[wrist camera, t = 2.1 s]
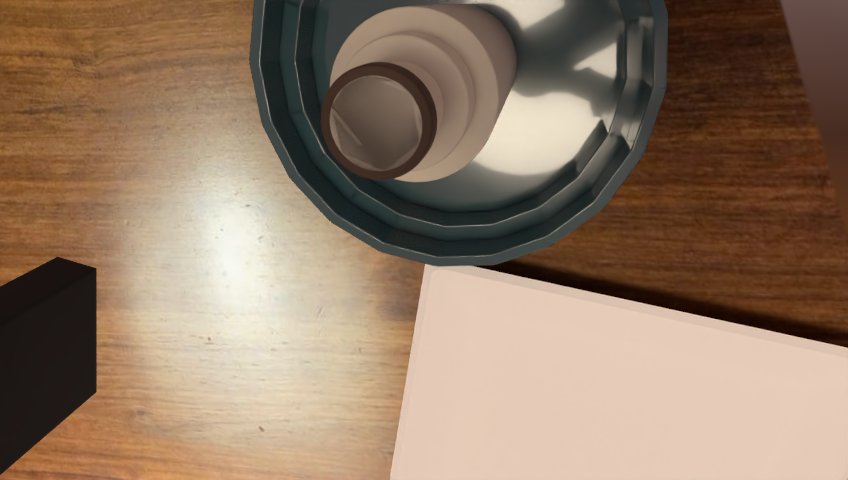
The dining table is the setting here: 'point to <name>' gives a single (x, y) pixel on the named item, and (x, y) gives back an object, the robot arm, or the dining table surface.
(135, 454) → the dining table surface
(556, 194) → the bowl
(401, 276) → the dining table surface
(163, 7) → the dining table surface
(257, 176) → the dining table surface
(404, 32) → the bottle
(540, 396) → the beige square board
